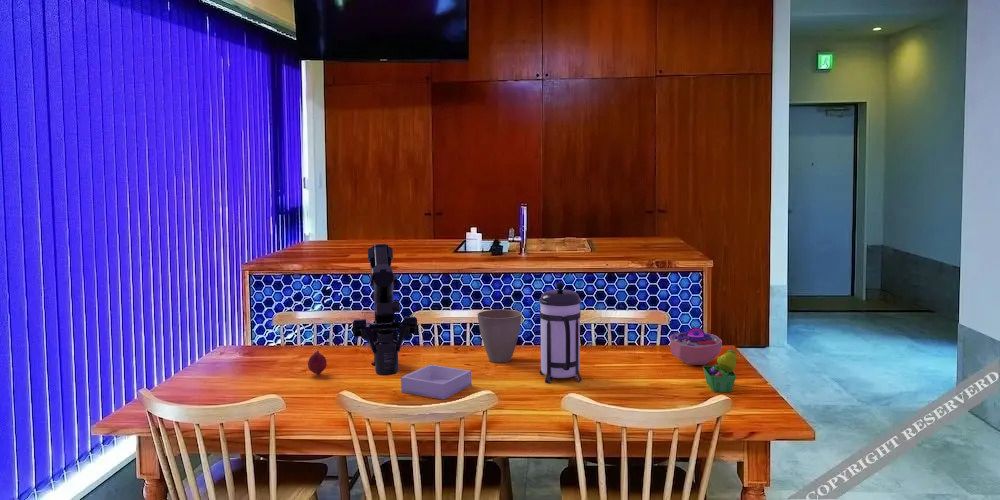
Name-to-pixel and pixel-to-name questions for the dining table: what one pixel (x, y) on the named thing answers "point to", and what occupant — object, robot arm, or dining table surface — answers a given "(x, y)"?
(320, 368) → the onion
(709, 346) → the cell model
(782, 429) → the dining table surface
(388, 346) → the supplement bottle
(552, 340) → the coffee press
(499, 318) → the plant pot
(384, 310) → the robot arm
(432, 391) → the purple bin
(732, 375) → the fruit basket
